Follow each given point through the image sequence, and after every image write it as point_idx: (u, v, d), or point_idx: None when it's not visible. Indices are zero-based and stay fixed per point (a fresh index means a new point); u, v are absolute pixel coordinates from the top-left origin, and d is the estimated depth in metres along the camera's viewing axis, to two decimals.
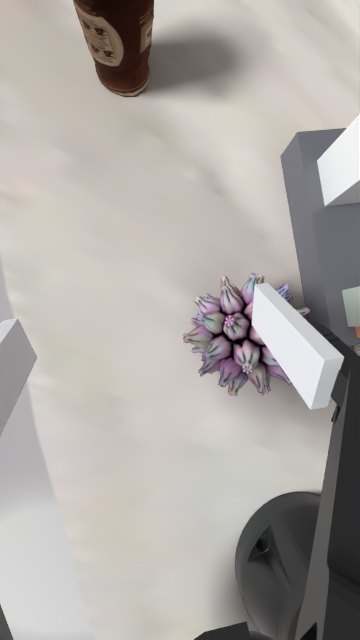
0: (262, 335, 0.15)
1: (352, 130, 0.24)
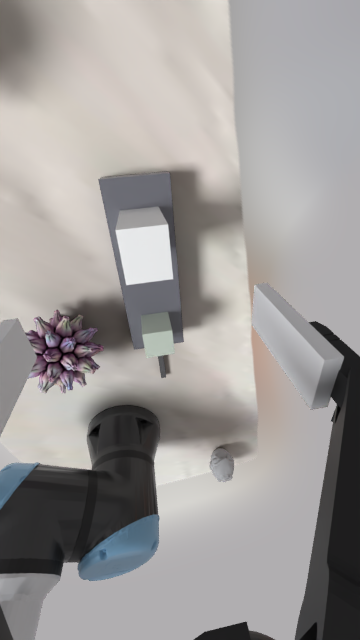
0: (262, 335, 0.15)
1: None
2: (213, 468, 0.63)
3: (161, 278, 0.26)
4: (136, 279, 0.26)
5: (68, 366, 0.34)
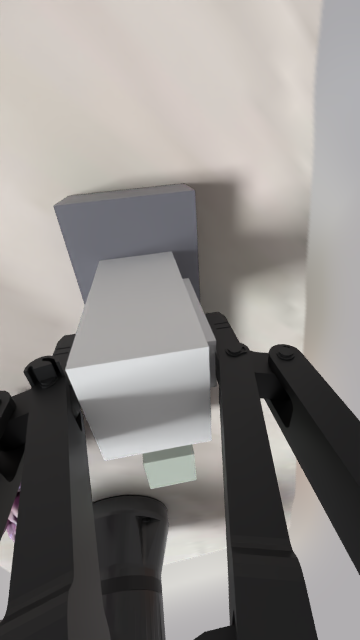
0: None
1: None
2: None
3: (185, 442, 0.11)
4: (127, 449, 0.11)
5: (16, 523, 0.20)
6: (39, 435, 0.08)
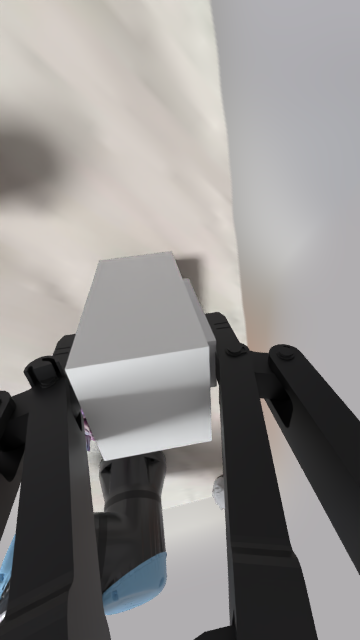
0: None
1: None
2: (215, 497, 0.68)
3: (185, 442, 0.11)
4: (127, 449, 0.11)
5: (86, 432, 0.39)
6: (40, 435, 0.08)
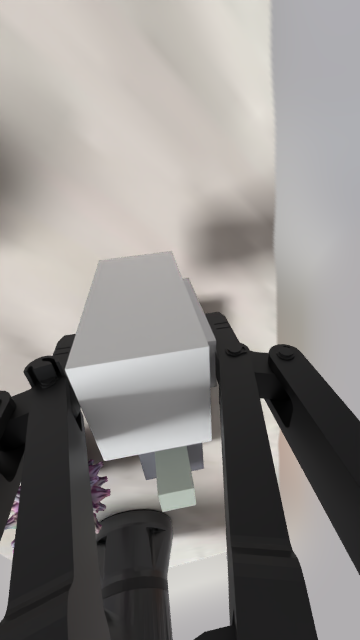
0: None
1: None
2: None
3: (185, 442, 0.11)
4: (127, 449, 0.11)
5: None
6: (40, 435, 0.08)
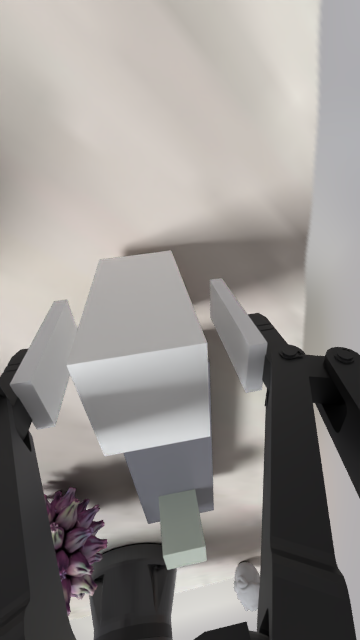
0: (216, 327, 0.16)
1: None
2: (239, 594, 0.53)
3: (184, 438, 0.11)
4: (127, 445, 0.11)
5: None
6: None
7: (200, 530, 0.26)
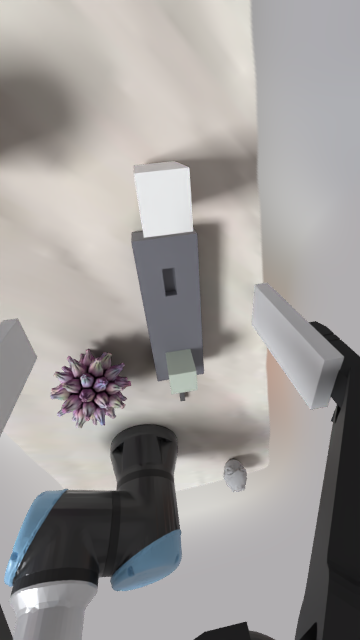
0: (262, 335, 0.15)
1: None
2: (227, 479, 0.67)
3: (180, 230, 0.24)
4: (154, 231, 0.24)
5: (102, 405, 0.37)
6: None
7: (193, 365, 0.39)
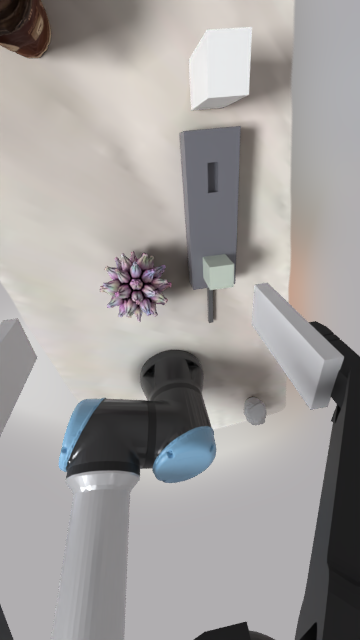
0: (262, 335, 0.15)
1: (197, 54, 0.30)
2: (248, 413, 0.70)
3: (238, 93, 0.29)
4: (217, 92, 0.29)
5: (149, 293, 0.41)
6: None
7: (230, 261, 0.43)
